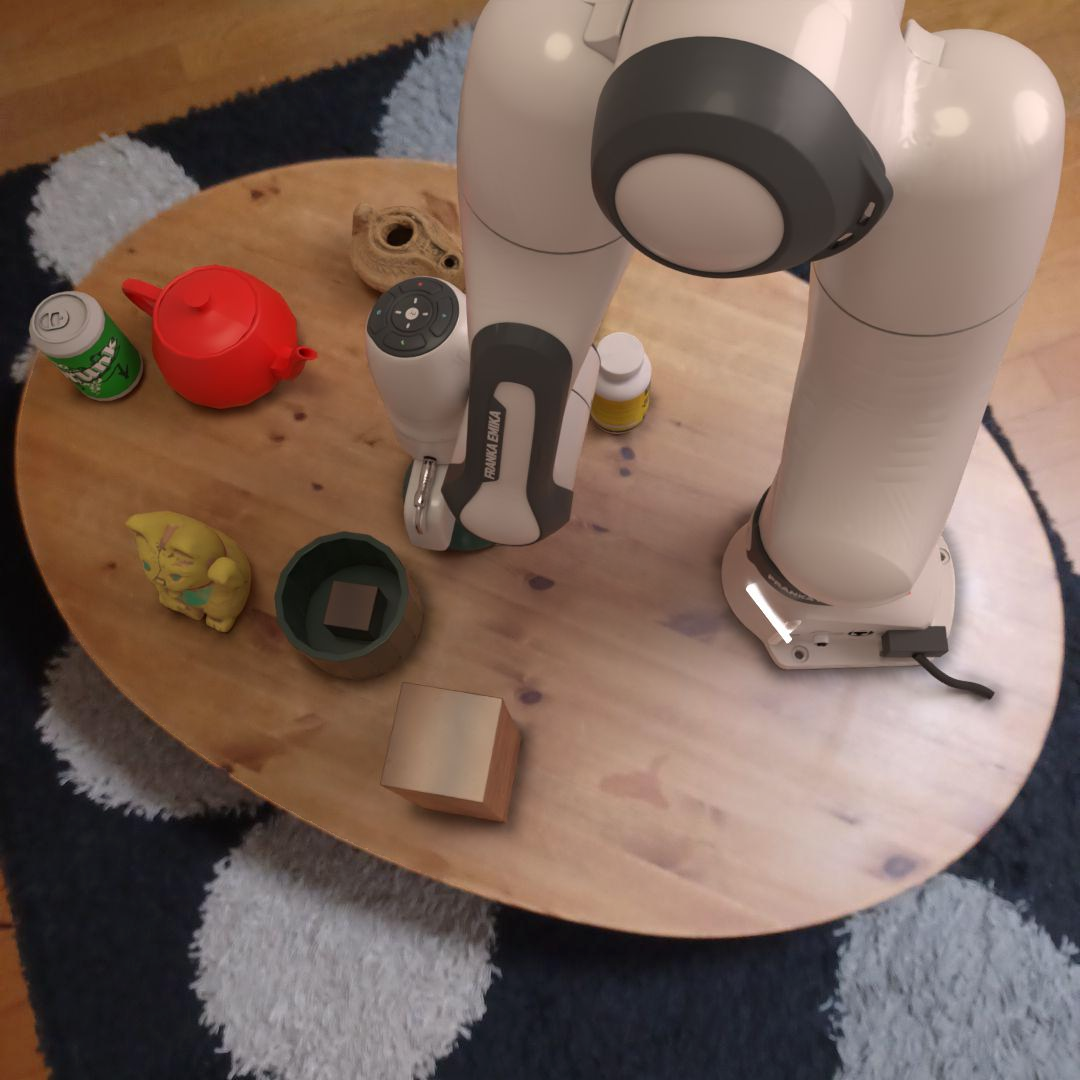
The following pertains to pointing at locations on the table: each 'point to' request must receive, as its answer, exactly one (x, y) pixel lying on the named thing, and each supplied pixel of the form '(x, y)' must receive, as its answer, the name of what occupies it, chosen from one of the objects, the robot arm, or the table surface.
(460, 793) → the stand
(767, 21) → the robot arm
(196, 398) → the teapot
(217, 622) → the figurine
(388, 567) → the tin
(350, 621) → the block
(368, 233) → the oil lamp
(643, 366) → the pill bottle
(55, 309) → the soda can
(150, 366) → the table surface
